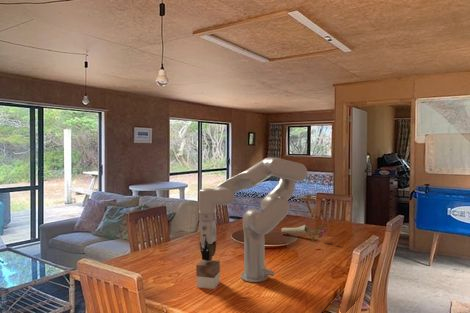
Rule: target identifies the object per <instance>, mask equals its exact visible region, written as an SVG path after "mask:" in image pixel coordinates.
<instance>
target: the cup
mask: <svg viewBox="0 0 470 313" xmlns="http://www.w3.org/2000/svg"><path fill="white" fill-rule="evenodd" d="M205 243H207V242H205ZM205 246H206V247H207V245H205ZM199 250H200V254H201V255H202V246H201V242H199ZM216 250H217V242H216V240H215V241H214V242H213V243H212V244H209V250H208V251H209V260H205V261H210V260H213V257H214V256H215V254H216Z"/></svg>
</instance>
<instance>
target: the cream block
mask: <svg viewBox="0 0 470 313" xmlns="http://www.w3.org/2000/svg"><path fill="white" fill-rule="evenodd" d="M220 272H221V271H220ZM220 272H219V273H218V274H217V275H216V276H215V277H214V278H208V277H199V276H196V288H200V289H201V288H202V289H211V290H212V289H213V290H215V289H216V288H217V287H218V285H219V284H220V281H221V280H220V279H221V278H220V277H221V276H220Z"/></svg>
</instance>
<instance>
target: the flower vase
mask: <svg viewBox="0 0 470 313" xmlns="http://www.w3.org/2000/svg"><path fill="white" fill-rule="evenodd" d="M313 229H314V230H313ZM313 229H311V230H310V228H309V227H308V226H307V225H306V224H303V225H301V226H298V227H282V228H281V233H282V232H287V233H291V234H297V233H298V234H299V233H300V234H305V235H308V237H311V241H312V243H313V242H314V239H315V237H316V236H315V234H317V239H321V238H323V237H324V234H326V233H327V229H326V227H325V224H322V225H321V226H320V228H319V229H316V227H314V228H313ZM309 230H310V231H309ZM308 233H310V234H308ZM314 233H315V234H314Z"/></svg>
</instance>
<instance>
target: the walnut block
mask: <svg viewBox="0 0 470 313" xmlns="http://www.w3.org/2000/svg"><path fill="white" fill-rule="evenodd" d="M220 261H221V260H220V259H219V260H218V259H212V260H210V261H205V260H202V259H201V260H200V261H198V263H197V264H195V265H196V267H195V268H196V269H195V270H196V271H195V272H196V277H197V276H199V277H208V278H214V277H215V276H216V275H217V274H218V273H219V272H221V271H220V270H221V269H220V268H221V266H220V263H221V262H220Z"/></svg>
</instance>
